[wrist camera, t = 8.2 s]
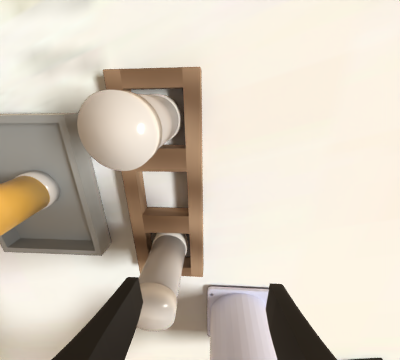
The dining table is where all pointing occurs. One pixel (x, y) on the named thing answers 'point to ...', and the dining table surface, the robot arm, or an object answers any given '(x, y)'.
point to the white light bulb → (126, 127)
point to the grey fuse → (162, 281)
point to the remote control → (369, 359)
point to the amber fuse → (25, 197)
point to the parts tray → (66, 179)
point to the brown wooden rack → (167, 165)
